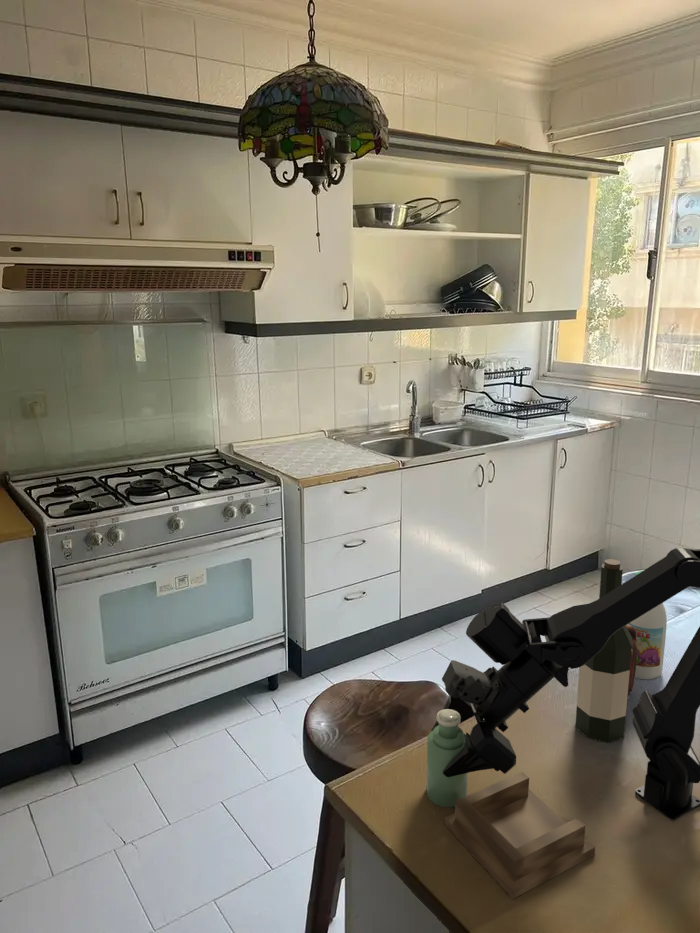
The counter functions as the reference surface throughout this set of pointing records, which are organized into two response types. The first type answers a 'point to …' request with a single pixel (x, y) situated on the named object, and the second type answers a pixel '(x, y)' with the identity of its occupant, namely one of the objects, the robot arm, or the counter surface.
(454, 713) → the green bottle
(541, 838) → the bottle rest
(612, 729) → the wine bottle
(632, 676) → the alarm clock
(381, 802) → the counter surface
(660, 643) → the milk bottle
